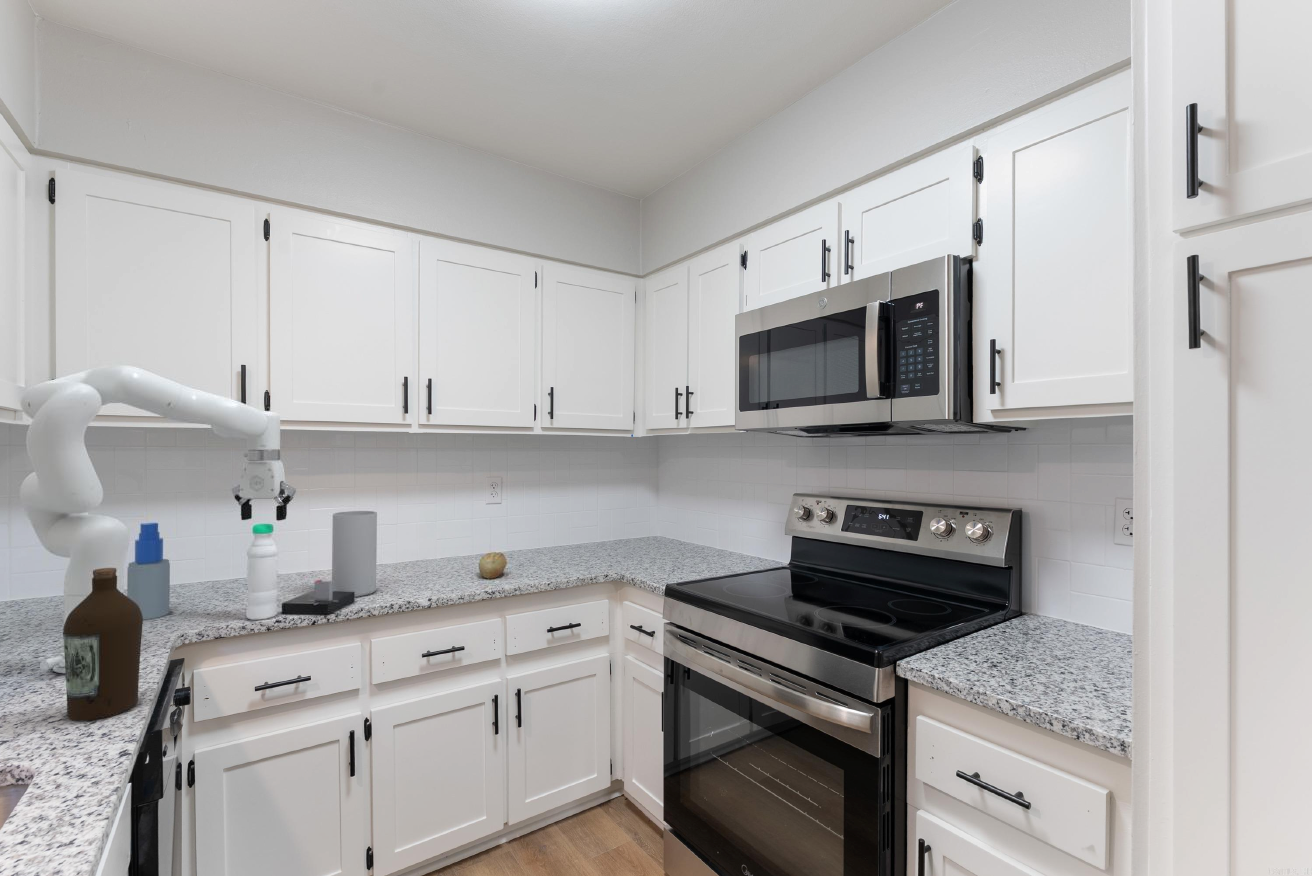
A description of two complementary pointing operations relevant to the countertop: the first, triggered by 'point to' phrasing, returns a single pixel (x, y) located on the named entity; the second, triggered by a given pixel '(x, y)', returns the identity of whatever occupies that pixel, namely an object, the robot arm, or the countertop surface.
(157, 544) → the spray bottle
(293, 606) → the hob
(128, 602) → the olive oil
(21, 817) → the countertop surface
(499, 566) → the bread roll
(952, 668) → the countertop surface
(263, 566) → the water bottle
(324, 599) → the knob
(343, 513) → the cylinder vase
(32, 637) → the countertop surface
